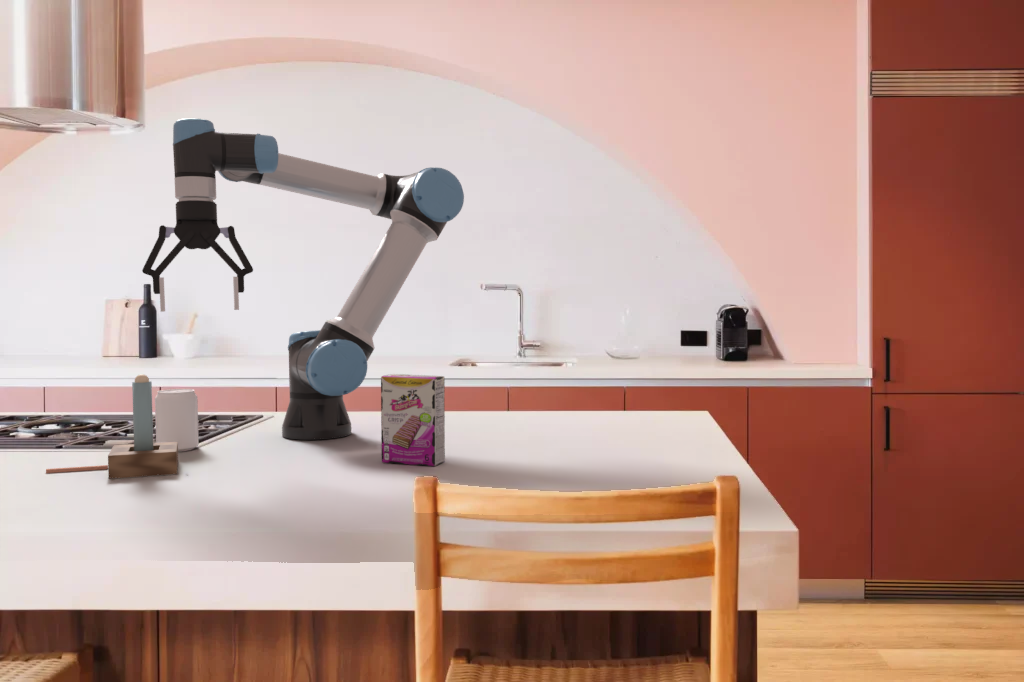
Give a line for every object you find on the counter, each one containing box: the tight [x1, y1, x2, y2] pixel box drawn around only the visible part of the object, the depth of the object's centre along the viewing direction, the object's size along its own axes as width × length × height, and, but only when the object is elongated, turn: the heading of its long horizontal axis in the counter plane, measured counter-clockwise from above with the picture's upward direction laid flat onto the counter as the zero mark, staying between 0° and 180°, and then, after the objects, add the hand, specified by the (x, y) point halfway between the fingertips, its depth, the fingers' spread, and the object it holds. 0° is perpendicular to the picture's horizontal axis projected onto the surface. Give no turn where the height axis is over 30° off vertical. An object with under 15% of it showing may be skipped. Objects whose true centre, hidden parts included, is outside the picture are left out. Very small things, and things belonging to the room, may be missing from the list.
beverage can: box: [154, 388, 199, 453], centre depth 181 cm, size 8×8×12 cm
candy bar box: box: [380, 373, 446, 467], centre depth 165 cm, size 11×5×16 cm, turn 71°
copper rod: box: [45, 464, 108, 474], centre depth 160 cm, size 10×1×1 cm, turn 109°
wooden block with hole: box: [107, 442, 179, 480], centre depth 160 cm, size 11×11×4 cm
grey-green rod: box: [131, 373, 154, 451], centre depth 159 cm, size 3×3×17 cm
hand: (200, 310), depth 173 cm, fingers open, 13 cm apart
